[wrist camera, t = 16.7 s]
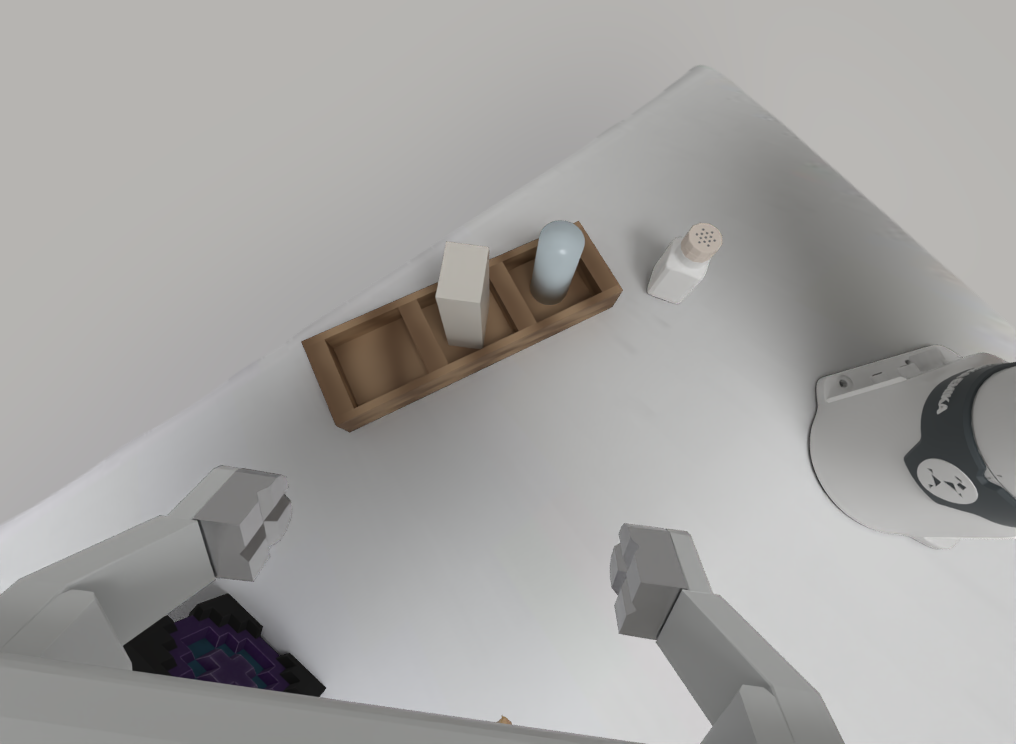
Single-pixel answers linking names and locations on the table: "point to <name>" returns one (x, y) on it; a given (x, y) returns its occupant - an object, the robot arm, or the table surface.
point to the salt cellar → (556, 261)
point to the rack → (423, 343)
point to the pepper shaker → (684, 263)
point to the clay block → (464, 294)
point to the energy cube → (219, 651)
